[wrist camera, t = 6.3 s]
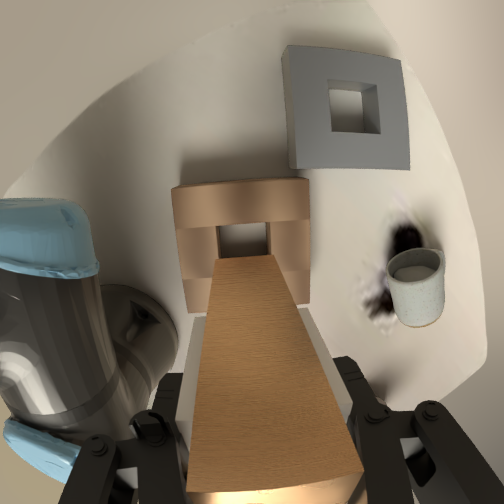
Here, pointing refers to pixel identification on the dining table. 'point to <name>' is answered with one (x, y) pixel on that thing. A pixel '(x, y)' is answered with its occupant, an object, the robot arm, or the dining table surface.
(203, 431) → the wooden square peg
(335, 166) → the gray socket block
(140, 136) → the dining table surface
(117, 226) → the dining table surface
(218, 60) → the dining table surface
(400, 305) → the ceramic mug
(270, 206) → the walnut socket block
